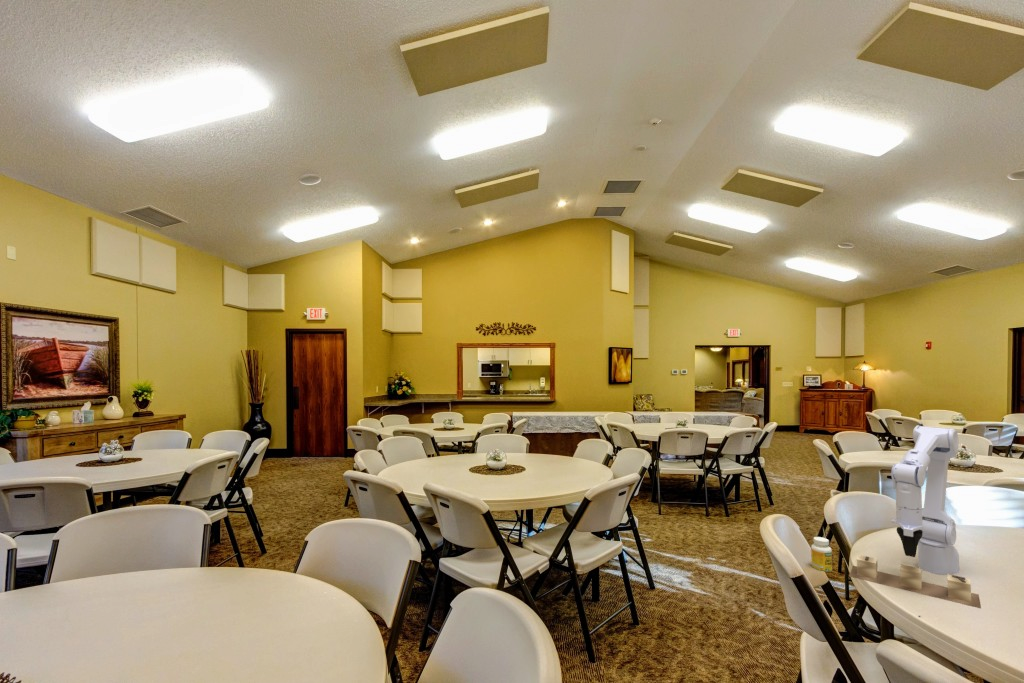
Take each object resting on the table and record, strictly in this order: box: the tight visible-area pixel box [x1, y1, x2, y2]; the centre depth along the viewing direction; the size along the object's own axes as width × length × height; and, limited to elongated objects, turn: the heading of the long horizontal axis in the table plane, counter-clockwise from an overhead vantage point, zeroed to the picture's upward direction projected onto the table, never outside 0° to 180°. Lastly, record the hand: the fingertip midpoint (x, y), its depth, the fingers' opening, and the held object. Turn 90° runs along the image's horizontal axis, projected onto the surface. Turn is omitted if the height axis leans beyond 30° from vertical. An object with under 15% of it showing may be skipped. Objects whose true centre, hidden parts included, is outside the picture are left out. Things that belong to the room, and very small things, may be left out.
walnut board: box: [848, 565, 982, 609], centre depth 137 cm, size 28×10×1 cm, turn 49°
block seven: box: [946, 574, 972, 602], centre depth 130 cm, size 4×4×5 cm
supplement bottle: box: [810, 536, 833, 572], centre depth 148 cm, size 5×5×10 cm
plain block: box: [899, 563, 923, 590], centre depth 137 cm, size 4×4×4 cm
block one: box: [856, 554, 878, 579], centre depth 143 cm, size 4×4×5 cm
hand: (910, 555), depth 137 cm, fingers closed
